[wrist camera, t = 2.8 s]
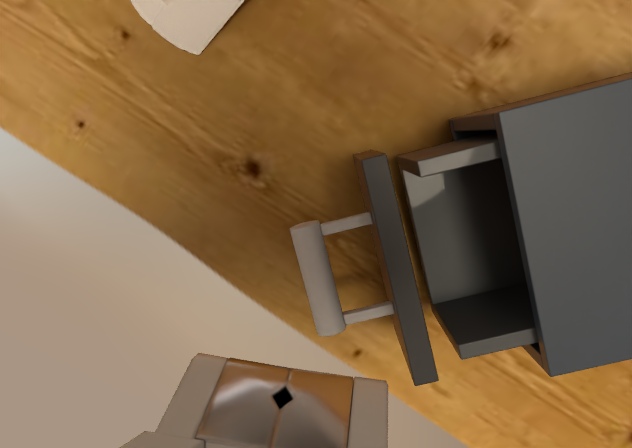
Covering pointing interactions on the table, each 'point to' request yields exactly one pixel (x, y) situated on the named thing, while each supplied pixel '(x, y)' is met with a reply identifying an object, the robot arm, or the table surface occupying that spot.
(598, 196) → the cabinet
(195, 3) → the computer mouse
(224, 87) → the table surface
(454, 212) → the drawer
